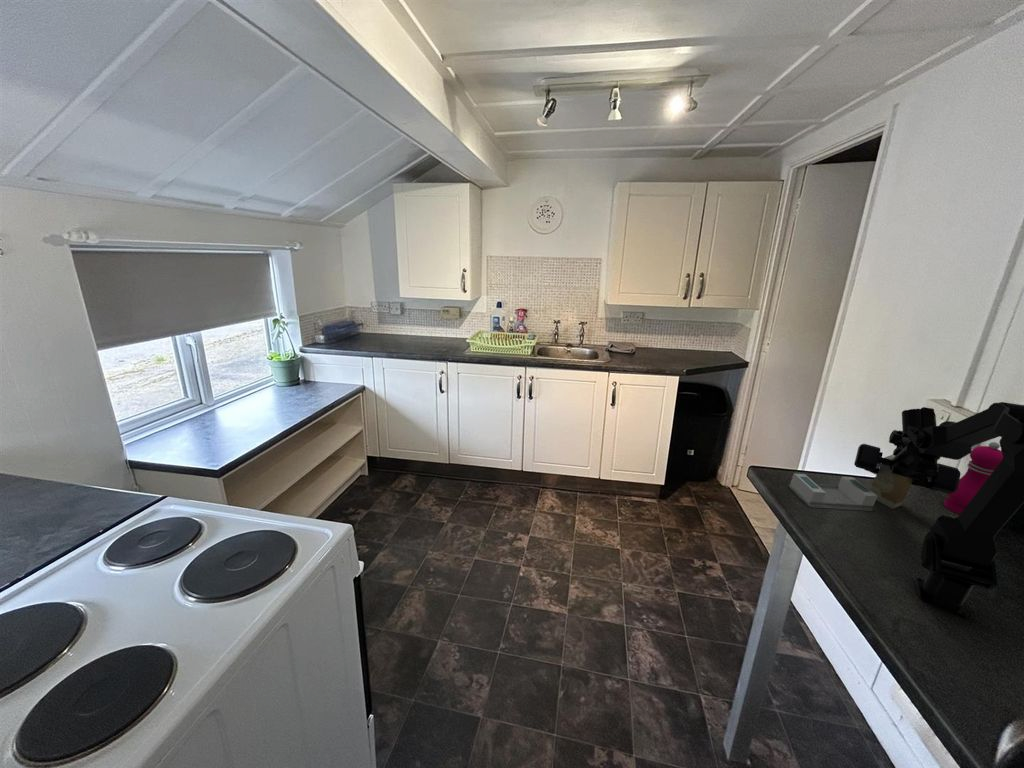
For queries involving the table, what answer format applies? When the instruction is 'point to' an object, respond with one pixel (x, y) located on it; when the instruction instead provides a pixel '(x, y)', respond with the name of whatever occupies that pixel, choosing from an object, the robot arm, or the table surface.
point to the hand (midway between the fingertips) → (893, 477)
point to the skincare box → (890, 487)
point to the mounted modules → (846, 485)
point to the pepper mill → (974, 476)
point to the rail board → (834, 499)
